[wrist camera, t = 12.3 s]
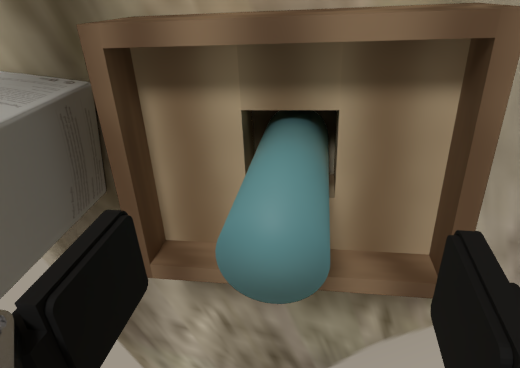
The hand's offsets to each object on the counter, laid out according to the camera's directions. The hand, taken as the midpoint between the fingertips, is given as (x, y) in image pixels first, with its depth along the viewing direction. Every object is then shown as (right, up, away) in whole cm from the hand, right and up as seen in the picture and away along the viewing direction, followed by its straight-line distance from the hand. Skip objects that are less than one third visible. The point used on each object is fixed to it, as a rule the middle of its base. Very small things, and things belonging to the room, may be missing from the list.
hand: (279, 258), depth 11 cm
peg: (+2, +5, +12) cm, 13 cm away
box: (+2, +5, +12) cm, 13 cm away
